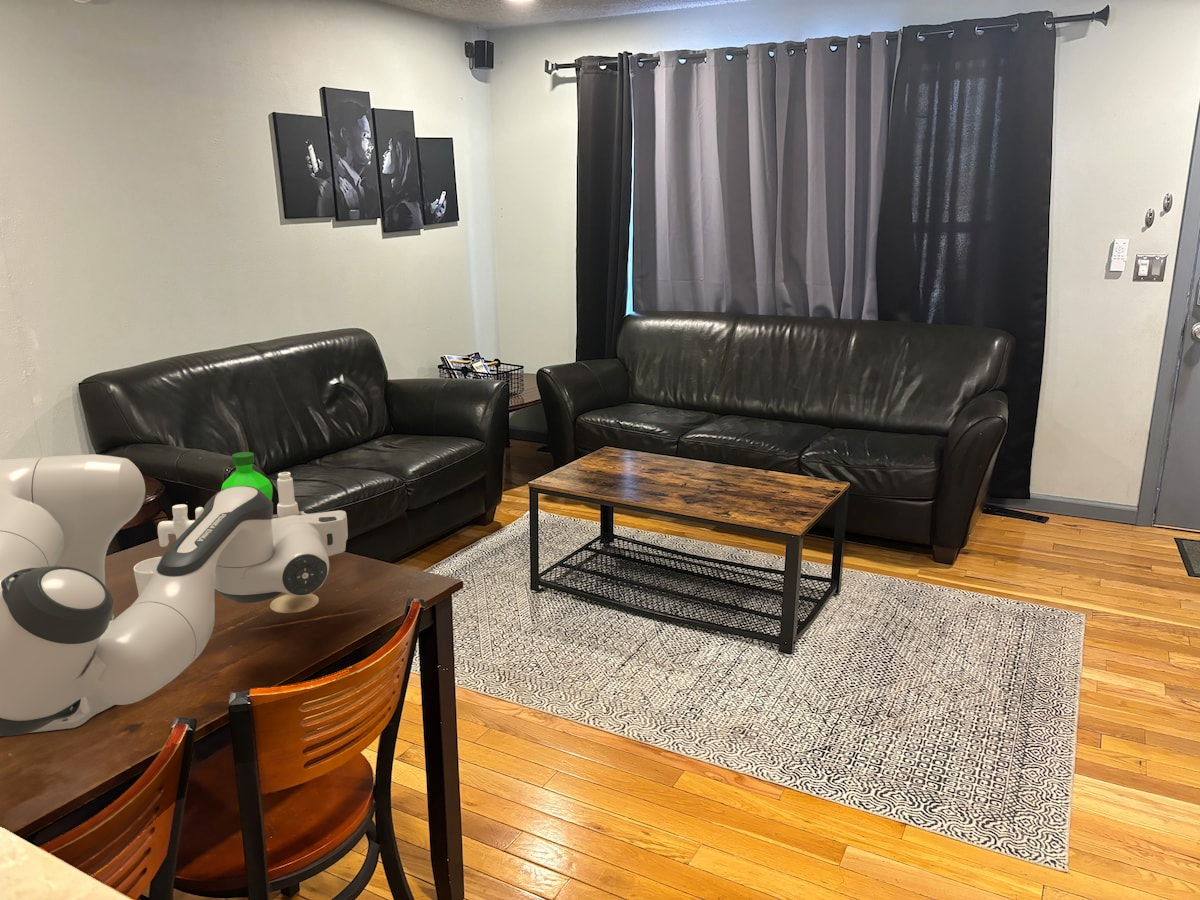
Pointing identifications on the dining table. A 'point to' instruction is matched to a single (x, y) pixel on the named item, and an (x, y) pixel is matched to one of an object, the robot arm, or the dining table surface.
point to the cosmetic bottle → (286, 496)
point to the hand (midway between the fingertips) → (286, 516)
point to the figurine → (176, 523)
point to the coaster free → (293, 603)
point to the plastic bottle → (247, 475)
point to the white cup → (145, 572)
